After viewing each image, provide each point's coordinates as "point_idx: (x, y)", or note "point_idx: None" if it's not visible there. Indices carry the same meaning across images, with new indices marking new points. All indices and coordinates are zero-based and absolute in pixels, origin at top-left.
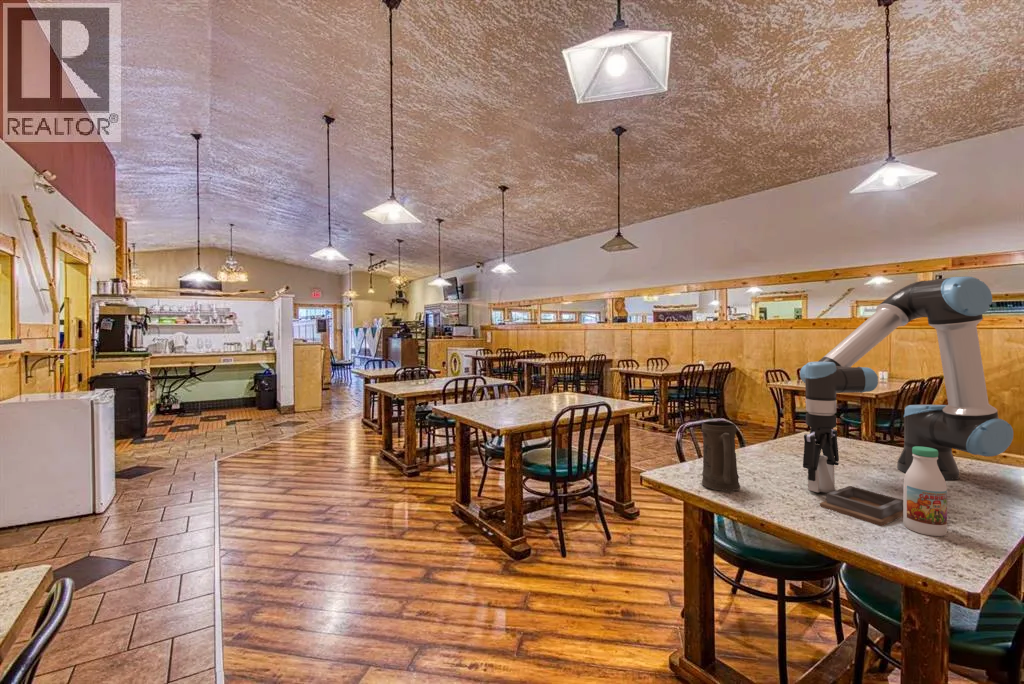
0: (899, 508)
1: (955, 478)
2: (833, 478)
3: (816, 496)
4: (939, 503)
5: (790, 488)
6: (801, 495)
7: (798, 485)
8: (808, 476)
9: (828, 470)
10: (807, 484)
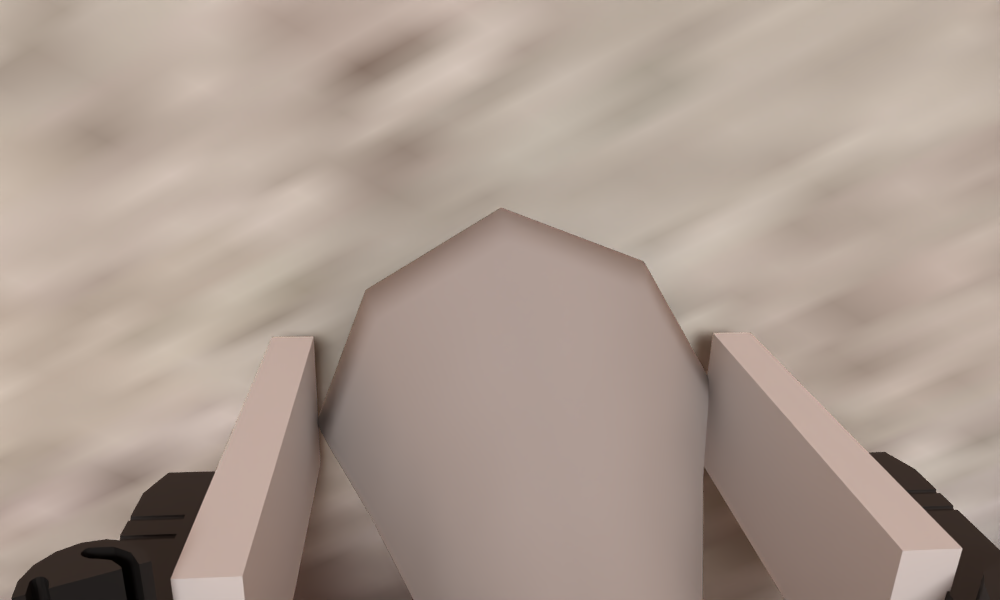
0: None
1: None
2: (754, 536)
3: None
4: None
5: (226, 58)
6: (86, 322)
7: (502, 48)
8: (135, 521)
9: (813, 556)
10: (490, 219)
